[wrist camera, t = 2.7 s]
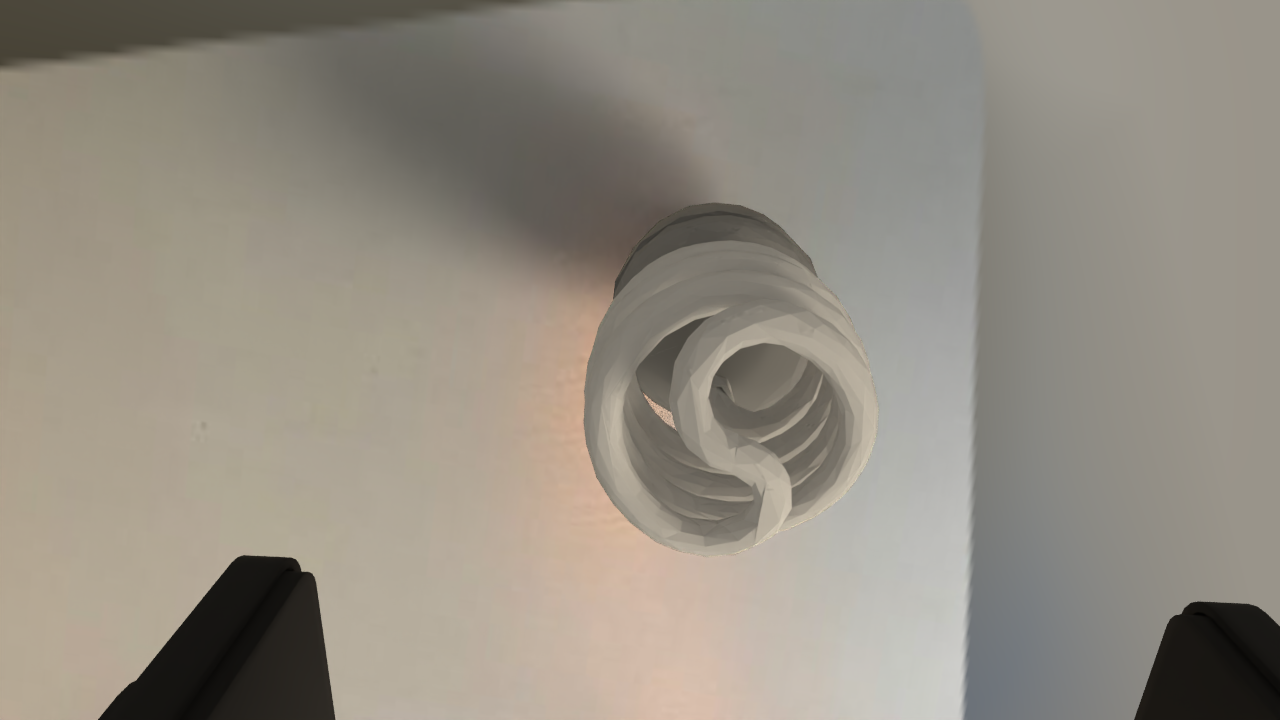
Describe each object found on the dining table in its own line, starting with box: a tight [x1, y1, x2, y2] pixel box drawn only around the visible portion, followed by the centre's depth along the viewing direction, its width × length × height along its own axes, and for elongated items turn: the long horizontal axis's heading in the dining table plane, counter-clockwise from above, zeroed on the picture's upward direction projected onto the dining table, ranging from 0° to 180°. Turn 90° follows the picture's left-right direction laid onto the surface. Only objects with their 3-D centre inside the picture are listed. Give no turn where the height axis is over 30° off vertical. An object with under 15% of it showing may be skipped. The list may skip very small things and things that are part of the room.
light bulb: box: [584, 203, 879, 557], centre depth 19 cm, size 6×6×12 cm
